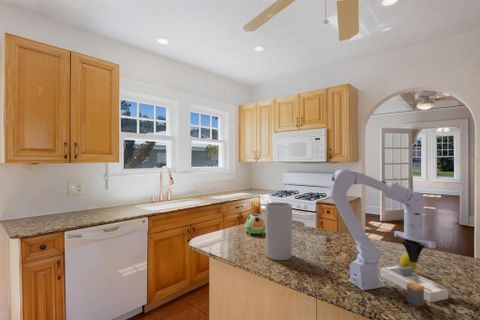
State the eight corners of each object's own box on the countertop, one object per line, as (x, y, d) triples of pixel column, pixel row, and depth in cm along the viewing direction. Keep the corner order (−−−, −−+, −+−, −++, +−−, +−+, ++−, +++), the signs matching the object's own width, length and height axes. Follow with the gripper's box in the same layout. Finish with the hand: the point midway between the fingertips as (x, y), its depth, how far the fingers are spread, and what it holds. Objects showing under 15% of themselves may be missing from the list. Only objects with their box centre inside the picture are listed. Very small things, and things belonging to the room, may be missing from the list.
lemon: (400, 268, 109) (400, 250, 109) (416, 272, 105) (416, 253, 105) (398, 273, 105) (398, 253, 105) (415, 277, 101) (415, 257, 101)
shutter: (412, 274, 96) (412, 267, 96) (402, 276, 95) (402, 269, 95) (400, 269, 101) (400, 262, 101) (390, 270, 100) (390, 263, 100)
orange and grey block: (416, 306, 81) (416, 287, 81) (406, 301, 84) (406, 283, 84) (423, 305, 82) (423, 286, 82) (414, 299, 85) (414, 281, 85)
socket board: (447, 298, 85) (447, 287, 85) (429, 302, 83) (429, 290, 83) (396, 273, 105) (396, 264, 105) (380, 275, 102) (380, 266, 102)
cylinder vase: (260, 256, 123) (260, 204, 124) (275, 249, 133) (275, 201, 133) (282, 263, 115) (282, 207, 115) (296, 255, 124) (296, 204, 124)
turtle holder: (259, 228, 175) (259, 211, 175) (267, 236, 157) (267, 216, 157) (242, 229, 172) (241, 211, 172) (248, 237, 154) (248, 217, 154)
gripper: (442, 228, 87) (442, 268, 87) (404, 219, 101) (404, 253, 101) (426, 230, 85) (426, 270, 85) (389, 220, 99) (390, 255, 99)
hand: (413, 261), depth 93 cm, fingers closed
